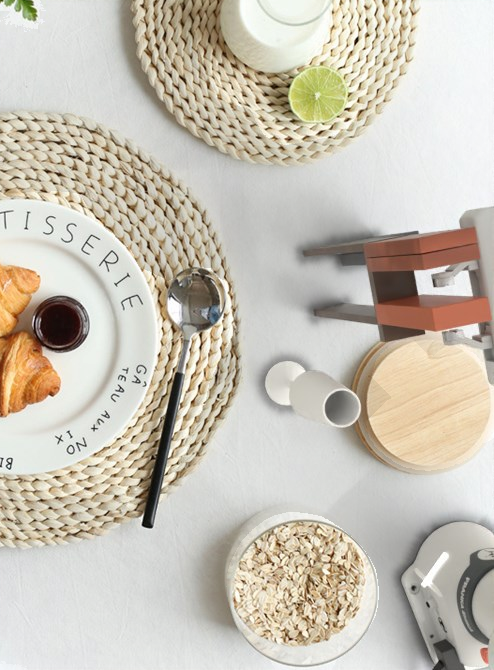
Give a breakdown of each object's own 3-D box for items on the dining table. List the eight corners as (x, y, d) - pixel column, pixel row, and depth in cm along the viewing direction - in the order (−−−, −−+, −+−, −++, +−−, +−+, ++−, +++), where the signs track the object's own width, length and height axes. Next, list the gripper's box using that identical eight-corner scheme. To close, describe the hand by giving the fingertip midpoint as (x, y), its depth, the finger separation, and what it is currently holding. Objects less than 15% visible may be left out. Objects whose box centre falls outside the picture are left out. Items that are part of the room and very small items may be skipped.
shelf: (424, 332, 99) (496, 343, 83) (376, 342, 99) (439, 354, 82) (406, 234, 99) (475, 225, 82) (358, 243, 99) (417, 236, 82)
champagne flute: (255, 382, 123) (303, 406, 99) (288, 351, 123) (343, 368, 99) (285, 414, 123) (340, 447, 99) (318, 384, 124) (380, 408, 100)
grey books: (380, 258, 124) (423, 255, 109) (342, 266, 123) (379, 264, 109) (376, 236, 124) (418, 230, 109) (338, 243, 123) (375, 239, 109)
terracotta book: (426, 314, 98) (492, 320, 83) (377, 323, 97) (435, 331, 82) (422, 294, 98) (488, 296, 83) (374, 303, 97) (431, 308, 82)
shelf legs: (346, 309, 124) (417, 317, 99) (314, 316, 123) (377, 325, 99) (334, 244, 123) (402, 235, 99) (302, 250, 123) (362, 243, 99)
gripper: (560, 189, 87) (435, 213, 86) (594, 378, 88) (470, 404, 87) (526, 195, 94) (410, 218, 93) (558, 371, 94) (442, 396, 93)
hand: (439, 310), depth 90 cm, fingers open, 5 cm apart
